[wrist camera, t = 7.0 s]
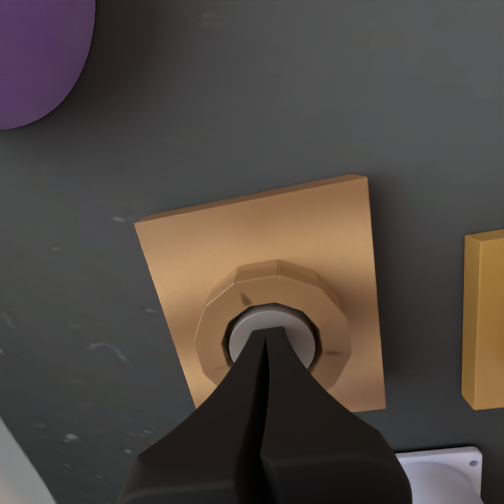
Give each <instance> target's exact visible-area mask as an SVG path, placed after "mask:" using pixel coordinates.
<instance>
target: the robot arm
mask: <svg viewBox="0 0 504 504" xmlns="http://www.w3.org/2000/svg"><path fill="white" fill-rule="evenodd" d="M481 471H482V454H481V452H480V451H479V450H478V449H477V448H476V447H471V446H470V447H460V448H449V449H439V450H428V451H418V452H407V453H397V454H395V453H394V452H393V450H392V449H391V447H390V446H389V444H388V443H387V441H386V440H385V439H384V437H383V436H382V434H381V433H380V432H379V431H378V430H376V429H375V428H373V427H372V426H370V425H369V424H367V423H366V422H364V421H363V420H361V419H360V418H358V417H357V416H356V415H354V414H353V413H352V412H350V411H349V410H348V409H347V408H345V407H344V406H343V405H342V404H341V403H340V402H338V401H337V400H336V399H335V398H334V397H333V396H332V395H330V394H329V393H328V392H327V391H326V390H325V389H324V388H323V387H322V386H321V385H320V384H319V383H318V381H317V380H316V379H315V378H314V377H313V376H312V375H311V373H310V372H309V371H308V370H307V368H306V367H305V366H304V364H303V363H302V362H301V360H300V359H299V357H298V356H297V354H296V353H295V351H294V349H293V348H292V346H291V344H290V342H289V340H288V338H287V336H286V332H285V328H284V327H282V326H278V327H272V328H265V329H258V330H253V331H252V332H251V334H250V336H249V338H248V340H247V342H246V344H245V345H244V347H243V349H242V351H241V352H240V354H239V356H238V357H237V359H236V361H235V362H234V364H233V365H232V367H231V368H230V370H229V371H228V373H227V374H226V376H225V377H224V378H223V380H222V381H221V382H220V384H219V385H218V386H217V388H216V389H215V390H214V391H213V392H212V393H211V395H210V396H209V397H208V398H207V399H206V400H205V401H204V402H203V403H202V404H201V405H200V406H199V407H198V408H197V409H196V410H195V411H194V412H193V413H192V414H191V415H190V416H189V417H188V418H187V419H185V420H184V421H183V422H182V423H181V424H180V425H178V426H177V427H176V428H175V429H174V430H172V431H171V432H170V433H169V434H167V435H166V436H165V437H163V438H162V439H161V440H159V441H158V442H156V443H155V444H154V445H152V446H151V447H150V448H148V449H147V450H145V451H144V452H142V453H141V454H139V455H138V457H137V459H136V461H135V463H134V465H133V467H132V469H131V471H130V473H129V475H128V477H127V480H126V482H125V484H124V487H123V489H122V491H121V494H120V496H119V499H118V501H117V503H116V504H484V503H483V501H482V500H481V498H480V491H481Z"/></svg>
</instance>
